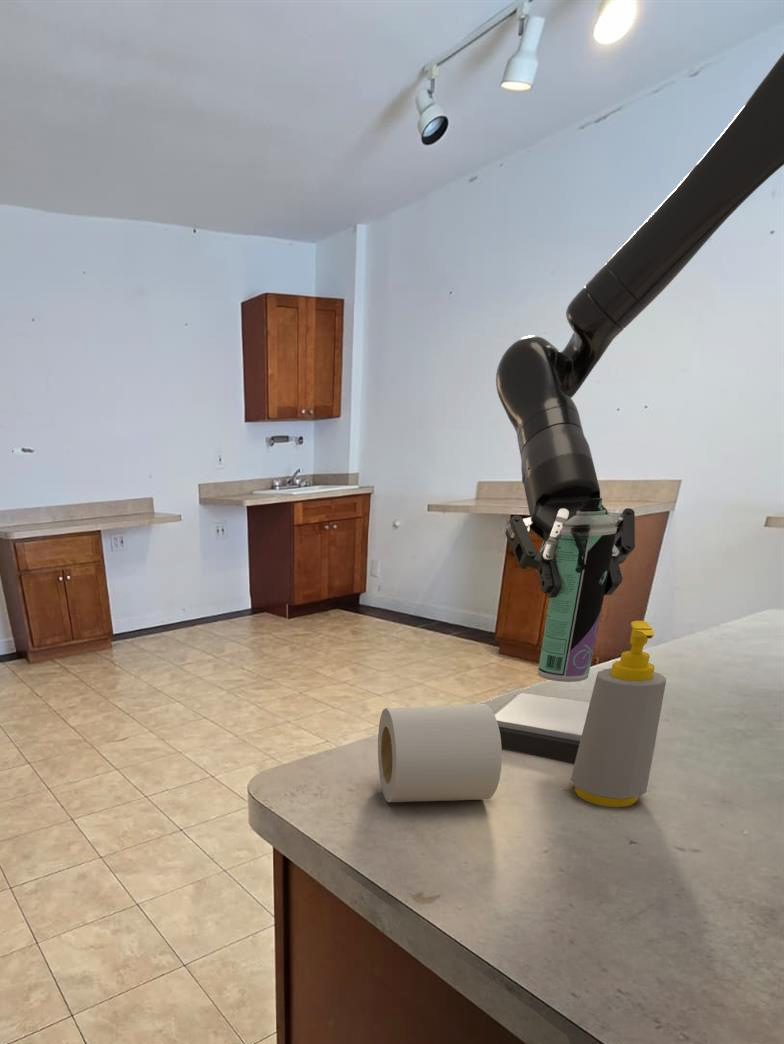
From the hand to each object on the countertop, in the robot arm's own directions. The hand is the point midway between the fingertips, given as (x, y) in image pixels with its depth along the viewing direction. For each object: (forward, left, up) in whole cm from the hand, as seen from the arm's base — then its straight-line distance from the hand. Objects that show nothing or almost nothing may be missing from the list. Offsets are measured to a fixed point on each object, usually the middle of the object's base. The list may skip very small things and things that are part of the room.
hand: (583, 591), depth 72 cm
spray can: (+1, -1, -10) cm, 11 cm away
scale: (0, -1, -18) cm, 18 cm away
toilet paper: (+7, +22, -19) cm, 30 cm away
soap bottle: (-8, +12, -19) cm, 24 cm away
